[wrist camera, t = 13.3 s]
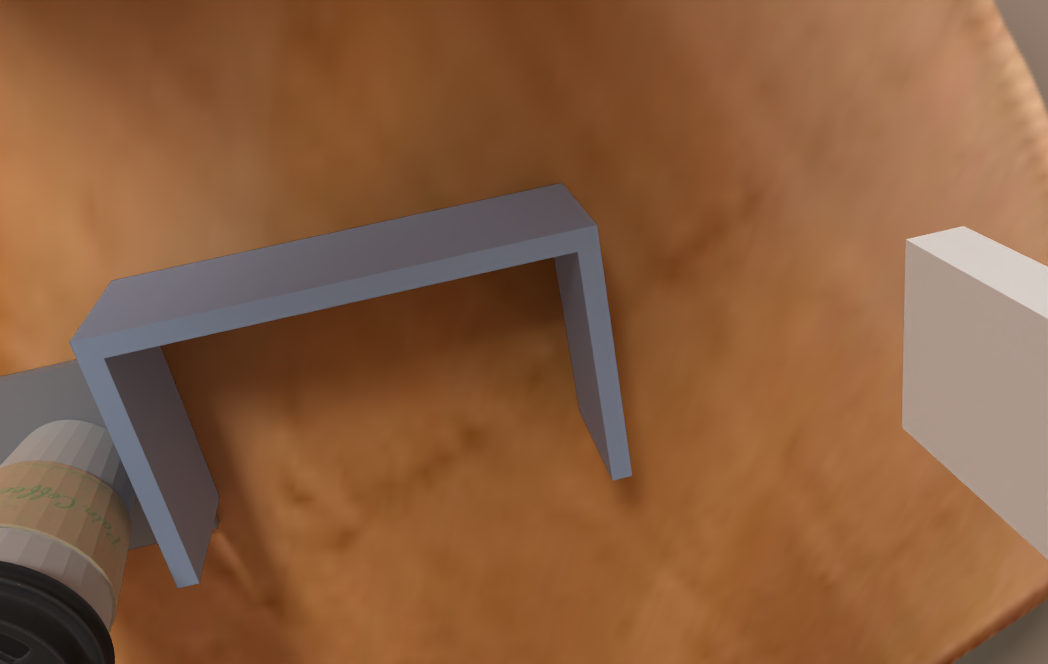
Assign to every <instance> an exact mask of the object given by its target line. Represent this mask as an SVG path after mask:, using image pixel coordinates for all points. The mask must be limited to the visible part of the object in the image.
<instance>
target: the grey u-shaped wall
mask: <svg viewBox="0 0 1048 664" xmlns="http://www.w3.org/2000/svg"><path fill="white" fill-rule="evenodd" d="M553 257H554V259H555V266H556V272H557V278H558V284H559V290H560V296H561V302H562V308H563V314H564V320H565V326H566V332H567V338H568V344H569V350H570V356H571V362H572V368H573V374H574V381H575V387H576V393H577V399H578V405H579V411H580V413H581V415H582V417H583V419H584V421H585V423H586V426H587V428H588V430H589V432H590V434H591V436H592V438H593V440H594V443H595V445H596V447H597V449H598V451H599V453H600V455H601V457H602V460H603V462H604V464H605V466H606V468H607V470H608V472H609V474H610V476H611V479H612V481H614V480H618V479H622V478H626V477H630V476H632V470H631V463H630V456H629V449H628V442H627V434H626V427H625V420H624V413H623V406H622V399H621V392H620V384H619V377H618V370H617V363H616V356H615V349H614V342H613V334H612V327H611V320H610V313H609V306H608V299H607V292H606V285H605V277H604V270H603V263H602V256H601V249H600V242H599V235H598V227H597V224H596V223H595V222H594V221H593V219H592V218H591V217H590V216H589V214H588V213H587V212H586V211H585V210H584V208H583V207H582V206H581V205H580V204H579V202H578V201H577V200H576V199H575V198H574V196H573V195H572V194H571V193H570V192H569V190H568V189H567V188H566V187H565V186H564V184H563V183H559V184H554V185H549V186H545V187H540V188H536V189H531V190H526V191H522V192H517V193H513V194H508V195H503V196H499V197H494V198H490V199H485V200H480V201H476V202H471V203H467V204H462V205H457V206H453V207H448V208H444V209H439V210H435V211H430V212H425V213H421V214H416V215H412V216H407V217H402V218H398V219H393V220H389V221H384V222H379V223H375V224H370V225H366V226H361V227H356V228H352V229H347V230H343V231H338V232H333V233H329V234H324V235H320V236H315V237H310V238H306V239H301V240H297V241H292V242H287V243H283V244H278V245H274V246H269V247H264V248H260V249H255V250H251V251H246V252H241V253H237V254H232V255H228V256H223V257H218V258H214V259H209V260H205V261H200V262H195V263H191V264H186V265H182V266H177V267H172V268H168V269H163V270H159V271H154V272H149V273H145V274H140V275H136V276H131V277H126V278H122V279H117V280H113V281H111V283H110V284H109V285H108V287H107V288H106V290H105V291H104V293H103V294H102V296H101V297H100V299H99V300H98V301H97V303H96V304H95V306H94V307H93V309H92V310H91V312H90V313H89V314H88V316H87V317H86V319H85V320H84V322H83V323H82V325H81V326H80V328H79V329H78V330H77V332H76V333H75V335H74V336H73V338H72V339H71V341H70V342H69V343H70V345H71V347H72V350H73V352H74V354H75V356H76V359H77V361H78V363H79V365H80V368H81V370H82V372H83V374H84V377H85V379H86V381H87V384H88V386H89V388H90V390H91V393H92V395H93V397H94V399H95V402H96V404H97V406H98V409H99V411H100V413H101V415H102V418H103V420H104V422H105V424H106V427H107V429H108V431H109V433H110V436H111V438H112V440H113V443H114V445H115V447H116V449H117V452H118V454H119V456H120V458H121V461H122V463H123V465H124V468H125V470H126V472H127V474H128V477H129V479H130V481H131V483H132V486H133V488H134V490H135V492H136V495H137V497H138V499H139V502H140V504H141V506H142V508H143V511H144V513H145V515H146V517H147V520H148V522H149V524H150V527H151V529H152V531H153V533H154V536H155V538H156V540H157V542H158V545H159V547H160V549H161V551H162V554H163V556H164V558H165V561H166V563H167V565H168V567H169V570H170V572H171V574H172V576H173V579H174V581H175V583H176V586H177V588H178V589H179V588H183V587H187V586H191V585H195V584H199V583H200V579H201V575H202V570H203V566H204V562H205V558H206V553H207V549H208V545H209V541H210V536H211V532H212V528H213V524H214V519H215V515H216V511H217V507H218V502H219V498H220V497H219V494H218V492H217V489H216V487H215V484H214V482H213V479H212V476H211V474H210V471H209V469H208V466H207V464H206V461H205V459H204V456H203V453H202V451H201V448H200V446H199V443H198V441H197V438H196V436H195V433H194V430H193V428H192V425H191V423H190V420H189V418H188V415H187V412H186V410H185V407H184V405H183V402H182V400H181V397H180V395H179V392H178V389H177V387H176V384H175V382H174V379H173V377H172V374H171V372H170V369H169V366H168V364H167V361H166V359H165V356H164V354H163V351H162V349H161V345H166V344H170V343H175V342H179V341H183V340H188V339H192V338H197V337H201V336H206V335H210V334H215V333H219V332H223V331H228V330H232V329H237V328H241V327H246V326H250V325H255V324H259V323H264V322H268V321H272V320H277V319H281V318H286V317H290V316H295V315H299V314H304V313H308V312H312V311H317V310H321V309H326V308H330V307H335V306H339V305H344V304H348V303H353V302H357V301H361V300H366V299H370V298H375V297H379V296H384V295H388V294H393V293H397V292H401V291H406V290H410V289H415V288H419V287H424V286H428V285H433V284H437V283H441V282H446V281H450V280H455V279H459V278H464V277H468V276H473V275H477V274H482V273H486V272H490V271H495V270H499V269H504V268H508V267H513V266H517V265H522V264H526V263H530V262H535V261H539V260H544V259H548V258H553Z"/></svg>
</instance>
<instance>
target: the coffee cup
mask: <svg viewBox="0 0 1048 664" xmlns="http://www.w3.org/2000/svg"><path fill="white" fill-rule="evenodd" d="M135 495H136V492H135V490H134V488H133V486H132V483H131V481H130V479H129V477H128V474H127V472H126V470H125V468H124V465H123V463H122V461H121V458H120V456H119V454H118V452H117V449H116V447H115V445H114V443H113V440H112V438H111V436H110V433H109V431H108V429H106V428H104V427H101V426H99V425H96V424H94V423H90V422H86V421H81V420H70V419H68V420H57V421H54V422H50V423H47V424H45V425H43V426H41V427H39V428H37V429H36V430H34V431H33V432H32V433H31V434H30V435H28V436H27V437H26V438H25V439H24V440H23V441H22V442H21V444H20V445H19V446H18V447H17V448H16V449H15V450H14V451H13V452H12V453H11V454H10V455H9V457H8V458H7V459H6V460H5V461H4V462H3V463H2V464H1V465H0V664H115V655H114V647H113V644H112V640H111V637H110V635H109V633H110V631H111V628H112V625H113V622H114V619H115V616H116V611H117V606H118V601H119V596H120V591H121V586H122V580H123V575H124V570H125V565H126V560H127V555H128V549H129V544H130V539H131V528H132V522H131V516H132V511H133V506H134V501H135Z"/></svg>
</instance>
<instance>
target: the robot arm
mask: <svg viewBox="0 0 1048 664" xmlns="http://www.w3.org/2000/svg"><path fill="white" fill-rule="evenodd" d="M902 428H903V429H904V430H905V431H906V432H907V433H909V434H910V435H911V436H912V437H913V438H914V439H915V440H916V441H917V442H919V443H920V444H921V445H922V446H923V447H924V448H925V449H926V450H927V451H928V452H930V453H931V454H932V455H933V456H934V457H935V458H936V459H937V460H938V461H940V462H941V463H942V464H943V465H944V466H945V467H946V468H947V469H948V470H949V471H951V472H952V473H953V474H954V475H955V476H956V477H957V478H958V479H959V480H961V481H962V482H963V483H964V484H965V485H966V486H967V487H968V488H969V489H970V490H972V491H973V492H974V493H975V494H976V495H977V496H978V497H979V498H980V499H982V500H983V501H984V502H985V503H986V504H987V505H988V506H989V507H990V508H991V509H993V510H994V511H995V512H996V513H997V514H998V515H999V516H1000V517H1001V518H1003V519H1004V520H1005V521H1006V522H1007V523H1008V524H1009V525H1010V526H1011V527H1012V528H1014V529H1015V530H1016V531H1017V532H1018V533H1019V534H1020V535H1021V536H1022V537H1023V538H1025V539H1026V540H1027V541H1028V542H1029V543H1030V544H1031V545H1032V546H1033V547H1035V548H1036V549H1037V550H1038V551H1039V552H1040V553H1041V554H1042V555H1043V556H1044V557H1046V558H1047V559H1048V267H1047V266H1045V265H1043V264H1041V263H1039V262H1037V261H1035V260H1033V259H1030V258H1028V257H1026V256H1024V255H1022V254H1020V253H1018V252H1016V251H1014V250H1012V249H1010V248H1008V247H1006V246H1004V245H1002V244H999V243H997V242H995V241H993V240H991V239H989V238H987V237H985V236H983V235H981V234H979V233H977V232H975V231H973V230H971V229H968V228H966V227H964V226H962V227H958V228H953V229H949V230H945V231H940V232H936V233H932V234H927V235H923V236H919V237H914V238H910V239H906V256H905V304H904V353H903V401H902Z"/></svg>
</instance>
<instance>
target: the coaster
mask: <svg viewBox="0 0 1048 664" xmlns="http://www.w3.org/2000/svg"><path fill="white" fill-rule="evenodd" d="M68 419H70V420H81V421H86V422H90V423H94V424H96V425H99V426H101V427H104V428H106V429H107V427H106V424H105V422H104V420H103V418H102V415H101V413H100V411H99V409H98V406H97V404H96V402H95V399H94V397H93V395H92V393H91V390H90V388H89V386H88V384H87V381H86V379H85V377H84V374H83V372H82V370H81V368H80V365H79V363H78V361H77V360H73V361H68V362H64V363H59V364H55V365H50V366H46V367H42V368H37V369H33V370H28V371H24V372H19V373H15V374H10V375H6V376H1V377H0V465H1V464H2V463H3V462H4V461H5V460H6V459H7V458H8V457H9V455H10V454H11V453H12V452H13V451H14V450H15V449H16V448H17V447H18V446H19V445H20V444H21V442H22V441H23V440H24V439H25V438H26V437H27V436H28V435H30V434H31V433H32V432H33V431H34V430H36V429H37V428H39V427H41V426H43V425H45V424H47V423H50V422H54V421H57V420H68ZM131 522H132V528H131V539H130V544H129V549H128V550H131V549H135V548H139V547H144V546H148V545H152V544H156V543H158V542H157V540H156V538H155V536H154V533H153V531H152V529H151V527H150V524H149V522H148V520H147V517H146V515H145V513H144V511H143V508H142V506H141V504H140V502H139V499H138V497H137V495H135V501H134V506H133V511H132V516H131ZM218 525H219V520H218V518H217V515H215V519H214V524H213V528H212V530H213V529H217V528H218Z"/></svg>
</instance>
